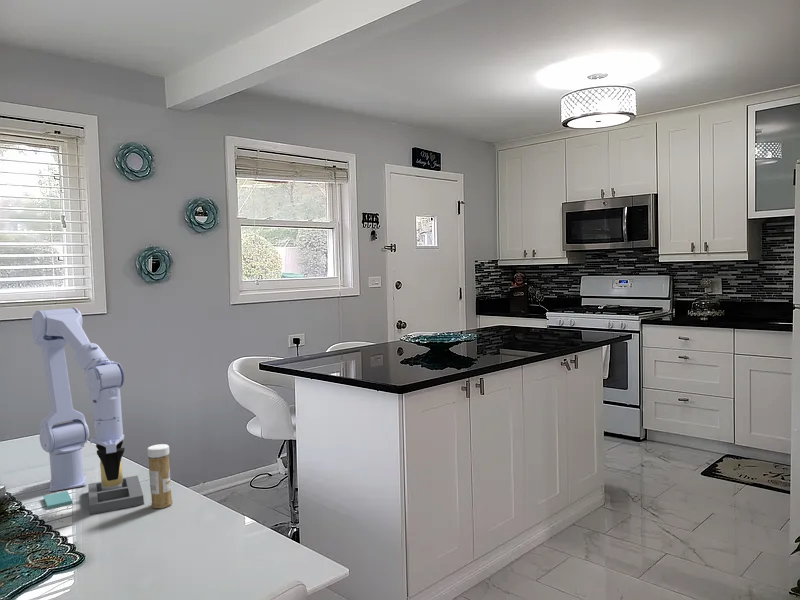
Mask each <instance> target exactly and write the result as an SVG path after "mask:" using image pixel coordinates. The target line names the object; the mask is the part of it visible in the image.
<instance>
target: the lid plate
mask: <svg viewBox="0 0 800 600" xmlns="http://www.w3.org/2000/svg"><path fill="white" fill-rule="evenodd" d="M43 502H44V503H45V506H46V508H47V510H52V509H56V508H61V507H65V506H69V505H73V499H72V498H71V495H70V494H69V492H68V490H65V491H62V492H57V493H56V492H55V493H52V494H46V495H43Z"/></svg>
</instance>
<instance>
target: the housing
mask: <svg viewBox="0 0 800 600" xmlns="http://www.w3.org/2000/svg"><path fill="white" fill-rule="evenodd" d="M139 479H140V478H139V476H138V475H132V476H126V477H123V482H122V488H117V489H112V490H106V491H102V485H101V481H97V482H93V483H87V484H88V486H87V487H88V504H89V515H95V514H99V513H101V514H102V513H105V512H111V511H115V510H121V509H125V508H132V507H136V506H141V505H144V504H145V502H144V501H145V500H144V497H145V496H144V494H143V490H142V486H141V484H140V483H141V482H140V480H139Z"/></svg>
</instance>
